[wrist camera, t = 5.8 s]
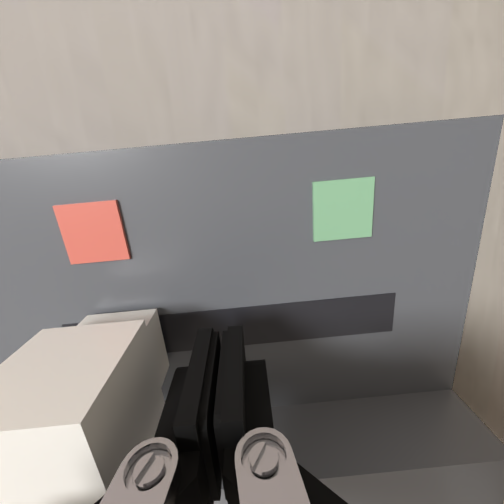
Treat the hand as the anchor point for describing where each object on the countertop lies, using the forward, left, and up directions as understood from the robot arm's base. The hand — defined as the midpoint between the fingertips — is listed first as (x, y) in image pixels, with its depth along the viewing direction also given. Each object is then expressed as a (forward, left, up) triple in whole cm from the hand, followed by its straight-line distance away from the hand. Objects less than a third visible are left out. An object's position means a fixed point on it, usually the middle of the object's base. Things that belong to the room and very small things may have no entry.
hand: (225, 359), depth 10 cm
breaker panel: (0, 0, -5) cm, 5 cm away
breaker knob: (+4, 0, -2) cm, 5 cm away
